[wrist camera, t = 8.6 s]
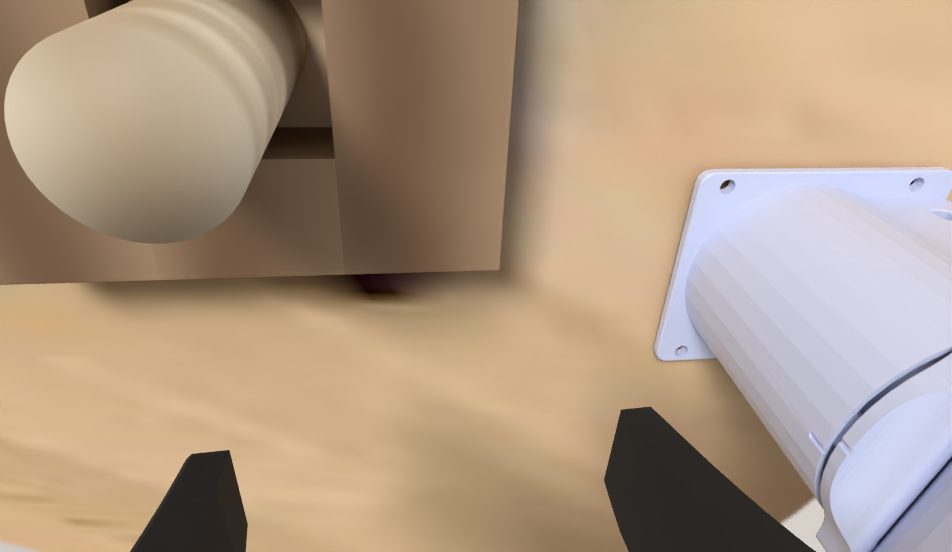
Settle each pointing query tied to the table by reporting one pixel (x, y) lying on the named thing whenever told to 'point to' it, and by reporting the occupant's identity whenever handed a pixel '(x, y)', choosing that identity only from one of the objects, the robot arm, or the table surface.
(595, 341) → the table surface
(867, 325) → the robot arm
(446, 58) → the socket block
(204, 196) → the dowel
